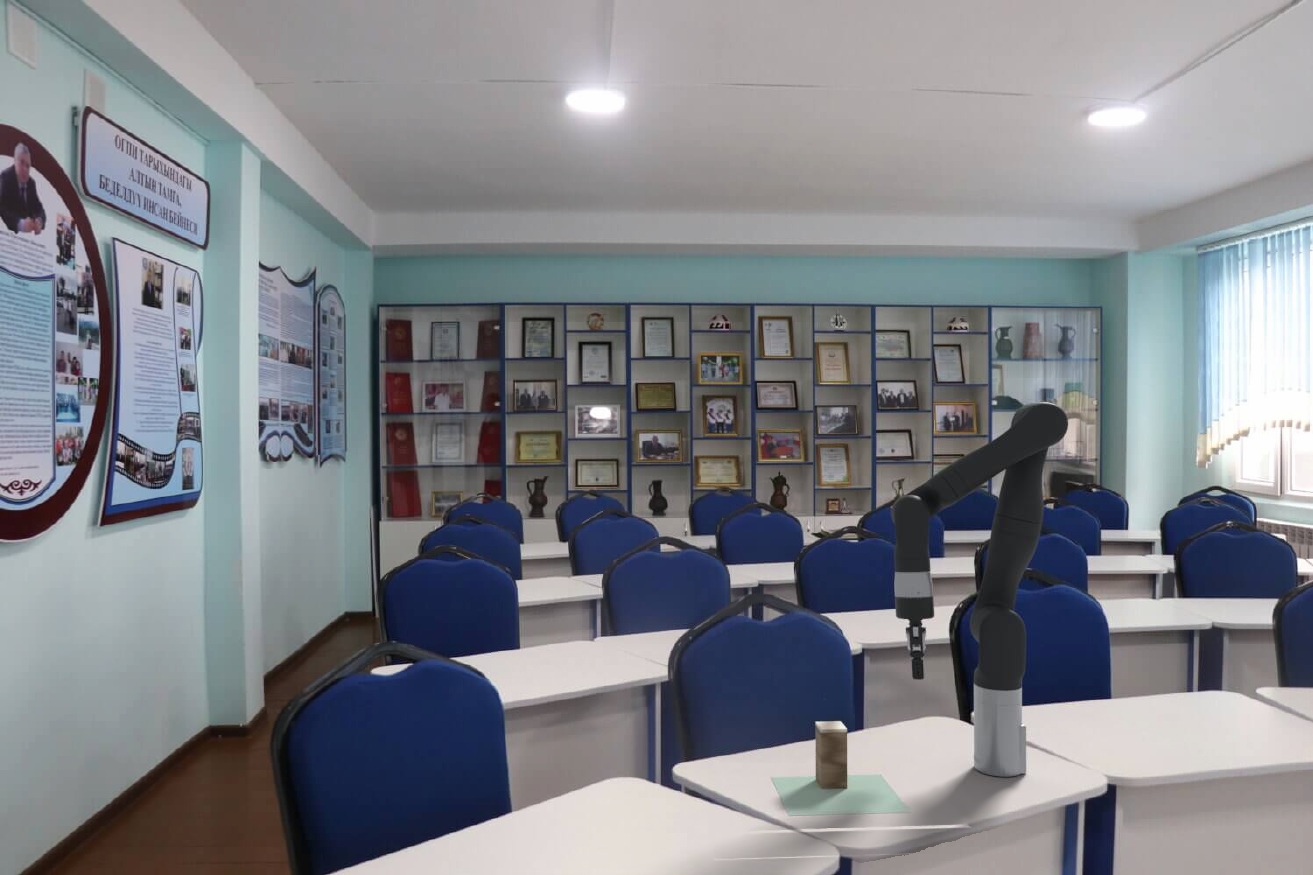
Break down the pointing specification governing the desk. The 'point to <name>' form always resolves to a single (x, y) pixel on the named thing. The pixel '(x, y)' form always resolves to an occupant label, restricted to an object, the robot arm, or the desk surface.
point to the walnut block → (831, 755)
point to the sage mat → (838, 796)
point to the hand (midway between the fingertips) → (918, 676)
